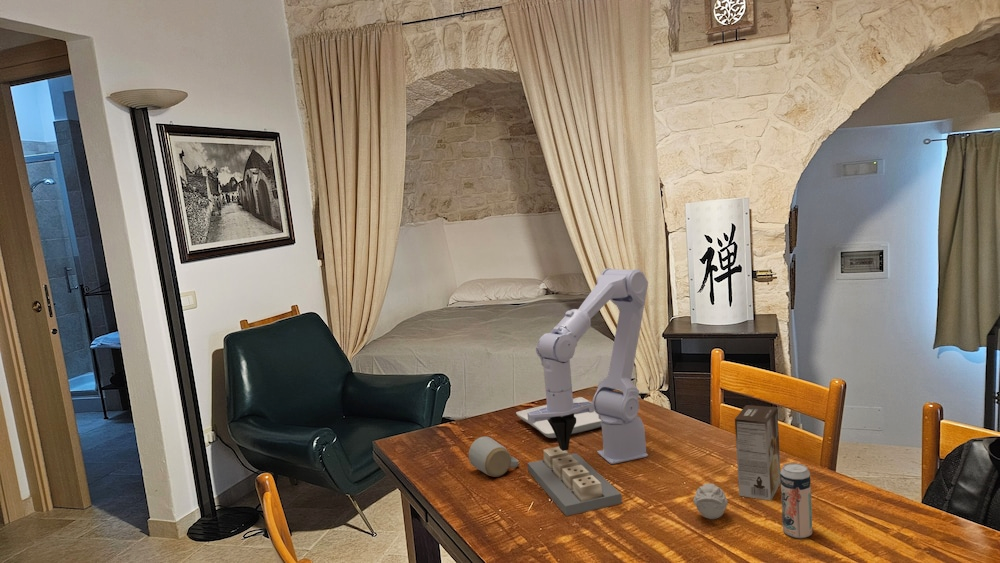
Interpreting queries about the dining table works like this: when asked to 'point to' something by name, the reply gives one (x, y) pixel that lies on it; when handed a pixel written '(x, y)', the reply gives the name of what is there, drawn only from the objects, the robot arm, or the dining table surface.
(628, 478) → the dining table surface
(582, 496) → the beige square block
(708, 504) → the frog figurine
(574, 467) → the beige small block
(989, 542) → the dining table surface
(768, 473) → the coffee box
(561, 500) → the grey slotted tray
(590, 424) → the salad plate
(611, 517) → the dining table surface
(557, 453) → the key
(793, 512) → the beer can
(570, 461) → the cream dice block
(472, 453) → the ceramic mug
